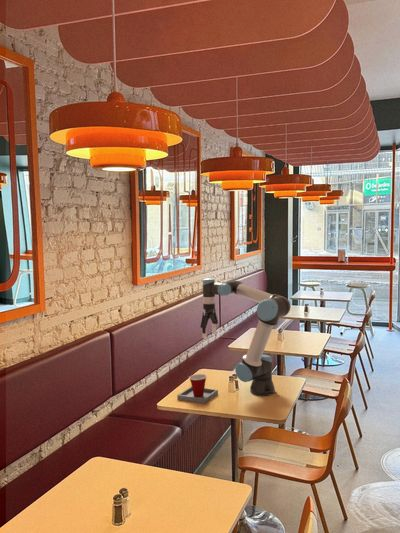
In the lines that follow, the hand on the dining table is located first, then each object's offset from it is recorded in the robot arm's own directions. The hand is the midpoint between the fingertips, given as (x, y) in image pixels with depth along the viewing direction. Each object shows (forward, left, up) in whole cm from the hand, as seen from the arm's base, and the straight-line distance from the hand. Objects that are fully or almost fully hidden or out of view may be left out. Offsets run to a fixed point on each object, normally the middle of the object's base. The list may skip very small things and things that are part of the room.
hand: (209, 336), depth 314 cm
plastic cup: (-2, +21, -32) cm, 38 cm away
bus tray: (-2, +21, -33) cm, 39 cm away
